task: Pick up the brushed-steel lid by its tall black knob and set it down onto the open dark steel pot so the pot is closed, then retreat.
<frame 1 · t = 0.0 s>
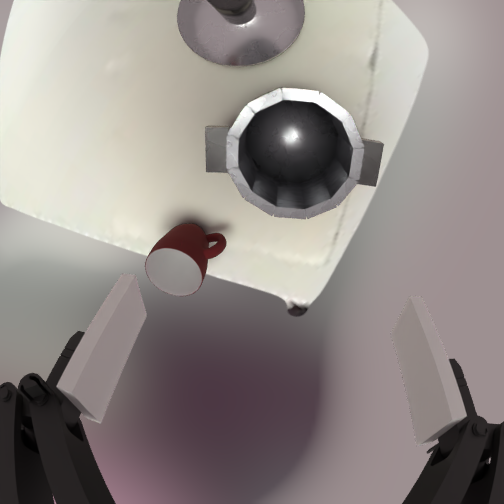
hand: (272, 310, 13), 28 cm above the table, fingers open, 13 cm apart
pot: (292, 139, 35), on the table
mug: (199, 231, 44), on the table
lid: (242, 15, 26), on the table
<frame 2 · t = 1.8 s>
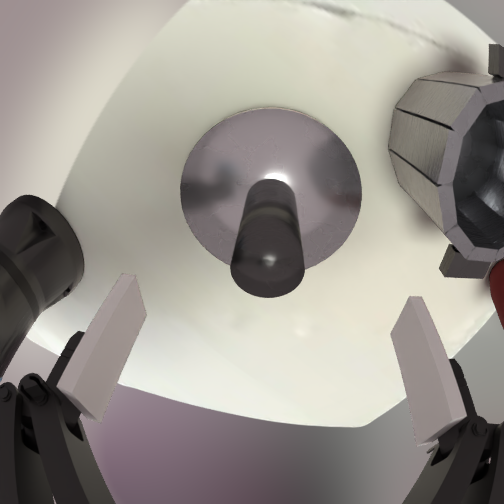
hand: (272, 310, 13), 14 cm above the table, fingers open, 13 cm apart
pot: (452, 144, 20), on the table
mug: (499, 263, 27), on the table
lid: (271, 189, 25), on the table
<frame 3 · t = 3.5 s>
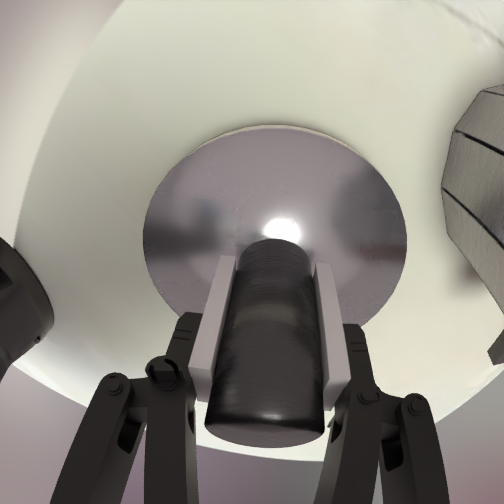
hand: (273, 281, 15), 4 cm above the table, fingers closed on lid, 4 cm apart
lid: (275, 243, 18), on the table, touching gripper
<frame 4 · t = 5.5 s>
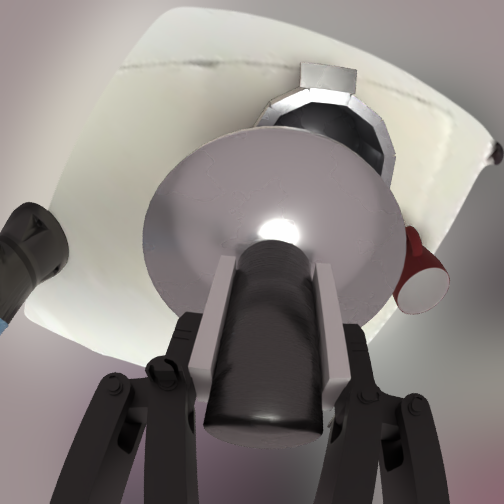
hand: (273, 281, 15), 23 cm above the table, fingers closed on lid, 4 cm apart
pot: (311, 144, 32), on the table
mug: (397, 241, 39), on the table
lid: (274, 244, 18), point 19 cm above the table, touching gripper
when the fingers open (13 cm above the table, at t = 7.6 s): lid drops 2 cm, resting on pot.
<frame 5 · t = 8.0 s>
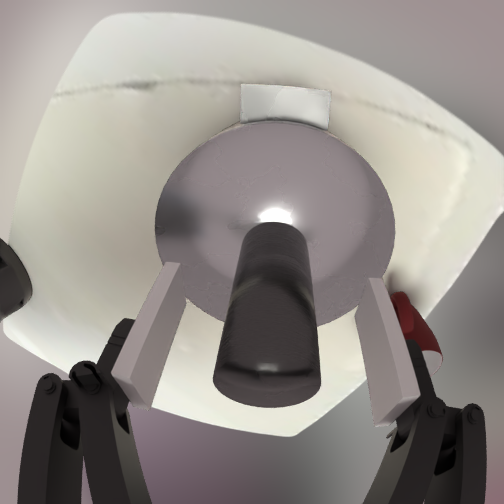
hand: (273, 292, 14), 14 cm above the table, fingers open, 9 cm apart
pot: (277, 188, 25), on the table
mug: (387, 300, 32), on the table
lid: (275, 228, 19), point 7 cm above the table, touching pot
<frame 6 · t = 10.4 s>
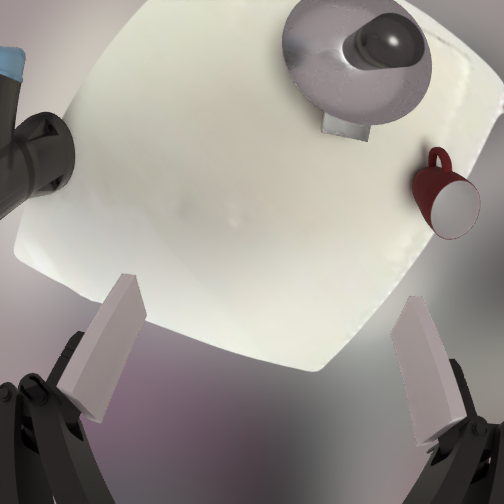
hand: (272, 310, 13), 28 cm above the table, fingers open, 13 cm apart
pot: (342, 59, 28), on the table
mug: (423, 173, 35), on the table
lid: (356, 54, 22), point 7 cm above the table, touching pot
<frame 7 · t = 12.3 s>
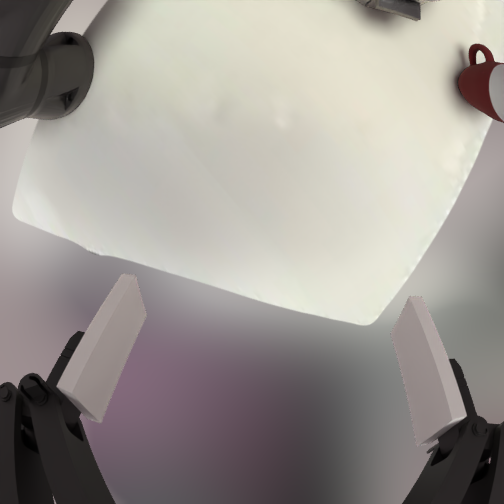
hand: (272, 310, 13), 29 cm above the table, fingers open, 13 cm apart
mug: (464, 77, 26), on the table
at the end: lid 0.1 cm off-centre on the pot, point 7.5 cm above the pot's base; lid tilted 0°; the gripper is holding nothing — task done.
